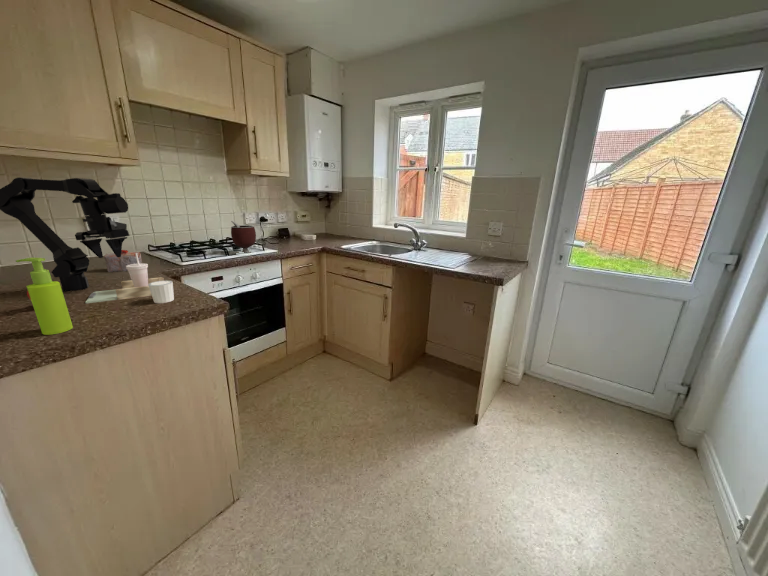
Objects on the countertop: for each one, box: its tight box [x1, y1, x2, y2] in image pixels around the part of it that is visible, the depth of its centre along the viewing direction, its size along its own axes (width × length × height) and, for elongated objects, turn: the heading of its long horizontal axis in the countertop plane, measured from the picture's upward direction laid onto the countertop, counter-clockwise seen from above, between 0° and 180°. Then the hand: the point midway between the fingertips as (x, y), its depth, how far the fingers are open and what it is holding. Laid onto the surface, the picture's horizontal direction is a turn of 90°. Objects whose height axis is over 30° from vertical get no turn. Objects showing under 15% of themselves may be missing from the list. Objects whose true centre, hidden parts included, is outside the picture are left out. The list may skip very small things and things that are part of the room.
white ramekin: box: [148, 279, 175, 304], centre depth 106 cm, size 7×7×7 cm
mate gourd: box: [230, 220, 257, 253], centre depth 191 cm, size 16×14×20 cm
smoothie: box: [126, 253, 149, 287], centre depth 113 cm, size 6×6×14 cm
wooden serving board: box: [116, 276, 165, 300], centre depth 115 cm, size 13×13×4 cm
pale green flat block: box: [85, 288, 118, 304], centre depth 109 cm, size 8×13×2 cm, turn 32°
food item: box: [103, 249, 143, 273], centre depth 148 cm, size 14×8×10 cm, turn 121°
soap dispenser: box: [15, 257, 74, 336], centre depth 81 cm, size 6×7×20 cm
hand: (110, 257), depth 115 cm, fingers open, 9 cm apart
